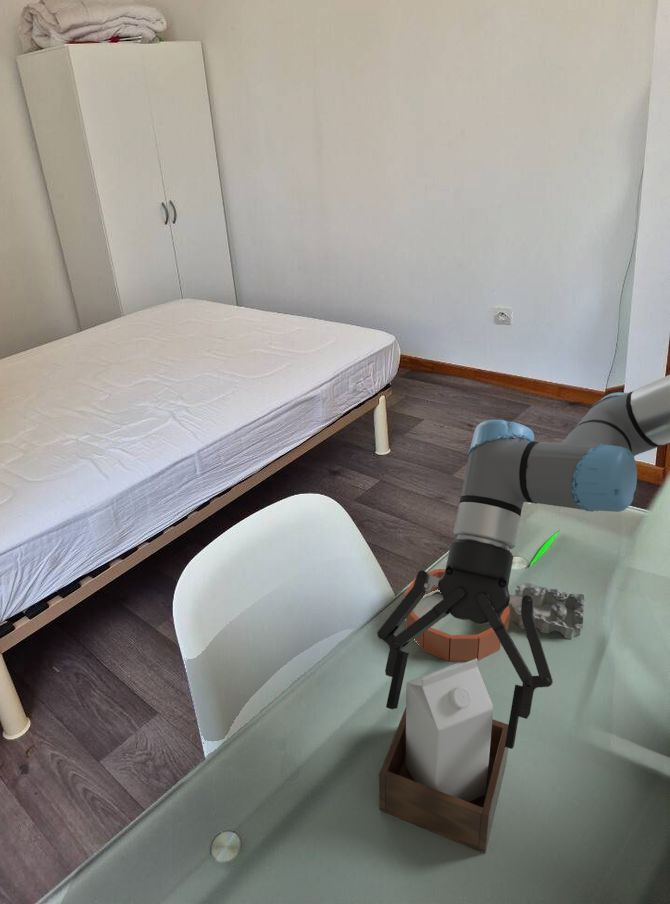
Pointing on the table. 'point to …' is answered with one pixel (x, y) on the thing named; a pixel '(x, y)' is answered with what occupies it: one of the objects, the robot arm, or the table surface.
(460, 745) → the milk carton
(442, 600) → the robot arm
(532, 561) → the leaf
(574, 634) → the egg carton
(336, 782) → the table surface
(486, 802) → the box
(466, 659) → the orange faceted ring
